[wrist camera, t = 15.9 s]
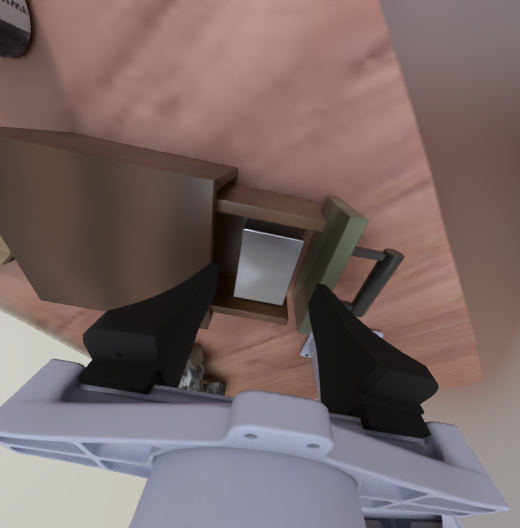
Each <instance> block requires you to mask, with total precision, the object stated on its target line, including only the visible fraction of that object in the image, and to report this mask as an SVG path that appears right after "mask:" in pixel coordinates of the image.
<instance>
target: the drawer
mask: <svg viewBox="0 0 520 528" xmlns="http://www.w3.org/2000/svg"><path fill="white" fill-rule="evenodd" d="M247 218H252V219H257V220H262V221H267V222H272V223H277V224H282V225H287V226H292V227H297V228H300V229H301V232H302V235H303V234H304V231H305V229H307V230H312V231H315V233H314V236H313V238H312V241H311V244H310V246H309V249H308V252H307V255H306V257H305V260H304V263H303V265H302V268H301V271H300V274H299V276H298V279H297V282H296V285H295V287H294V290H293V300H294V308H295V316H296V324H297V332H298V333H302V334H307V335H310V333H311V331H312V328H311V323H310V318H309V309H308V303H309V301H310V299H311V296H312V294H313V292H314V290H315V287H316V285H317V283H319V284H324V285H326V286H327V287H328V288H329V289H330V290H331V291H333V289H334V287H335V285H336V283H337V281H338V279H339V277H340V275H341V274H342V272H343V270H344V268H345V266H346V264H347V262H348V260H349V258H350V256H351V255H353V256H358V257H363V258H368V259H373V260H378V261H377V262H376V264H375V266H374V267H373V269H372V270H371V272H370V274H369V275H368V277H367V278H366V280H365V282H364V283H363V285H362V287H361V288H360V290H359V291H358V293H357V295H356V296H355V298H354V299H353V301H352V303H351V302H348V301H342V300H340V301H341V302H342V303H343V304H344V305H345V306H346V307H347V308H348V310H349V311H350V312H351V313H353V314H354V315H355V316H357V317H362V316H364V314H365V313H366V311H367V310H368V309H369V307H370V306H371V304H372V303H373V302H374V300H375V299H376V297H377V296H378V294H379V293H380V292H381V290H382V289H383V287H384V286H385V284H386V283H387V282H388V280H389V279H390V277H391V276H392V275H393V273H394V272H395V270H396V269H397V267H398V266H399V265H400V263H401V262H402V260H403V259H404V257H405V256H404V255H403V254H402V253H400V252H398V251H396V250H393V249H384V251H383V252H382V251H377V250H372V249H367V248H362V247H357V246H356V245H357V243H358V241H359V239H360V237H361V235H362V233H363V231H364V229H365V227H366V225H367V223H368V221H369V220H368V219H366V218H365V217H364V216H362V215H361V214H360V213H358V212H357V211H356V210H354V209H353V208H352V207H351V206H349V205H348V204H347V203H345V202H344V201H343V200H341V199H339V198H334V197H329V196H328V197H327V200H326V203H325V206H324V208H323V211H322V214H321V213H320V211H319V210H318V208H317V207H316V206H315V204H314V203H313V202H312V201H310V200H305V199H300V198H295V197H291V196H286V195H281V194H276V193H271V192H266V191H262V190H257V189H252V188H247V187H242V186H238V185H233V184H228V183H227V184H225V185H224V186H223V187H221V188H220V189H219V190H217V195H216V214H215V233H214V251H213V263H214V264H219V268H218V282H217V289H216V292H215V295H214V298H213V300H212V302H211V308H210V311H211V312H217V313H222V314H228V315H233V316H239V317H244V318H250V319H256V320H261V321H267V322H272V323H278V324H284V325H286V324H287V321H288V310H287V297H286V296H285V299H284V302H283V305H277V304H271V303H266V302H260V301H255V300H250V299H244V298H239V297H234V296H233V295H234V288H235V281H236V274H237V267H238V260H239V253H240V246H241V239H242V232H243V228H244V225H245V223H246V220H247Z"/></svg>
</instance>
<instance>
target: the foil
mask: <svg viewBox="0 0 520 528" xmlns="http://www.w3.org/2000/svg"><path fill="white" fill-rule="evenodd" d="M203 377H205V361H204V356H203V350H202V347H201V346H200V345H199V344H197V345H196V346H195V348H194V349H193V350H192V351H191V352H190V355H189V357H188V360H187V363H186V366H185V369H184V372H183V375H182V378H181V382H180V385H179V388H180V389H186V390H192V391H198V392H204V393H210V394H217V395H223V396H225V390H226V388H225V387H226V384H224V383H221V382H217V383H204V384H202V381H203Z"/></svg>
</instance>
